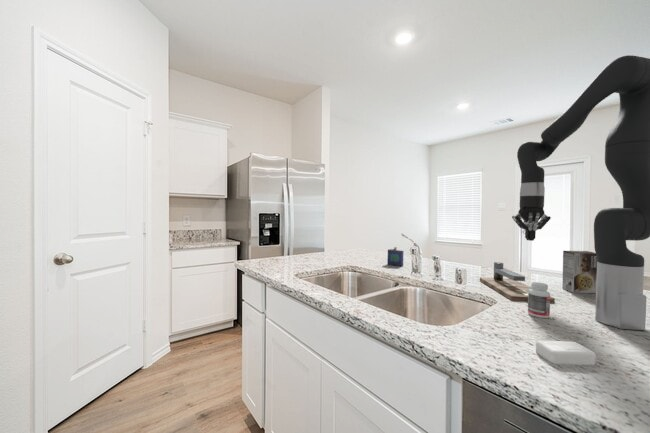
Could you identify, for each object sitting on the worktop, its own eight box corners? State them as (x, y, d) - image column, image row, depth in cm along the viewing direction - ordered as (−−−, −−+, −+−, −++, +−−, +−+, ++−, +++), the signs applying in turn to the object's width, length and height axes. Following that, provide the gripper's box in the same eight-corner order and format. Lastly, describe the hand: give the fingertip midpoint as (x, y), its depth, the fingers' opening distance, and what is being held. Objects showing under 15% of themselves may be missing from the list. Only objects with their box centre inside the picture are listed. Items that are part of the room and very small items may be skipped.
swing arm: (524, 289, 107) (525, 271, 107) (513, 289, 108) (513, 270, 107) (501, 278, 126) (501, 262, 125) (491, 277, 126) (492, 262, 126)
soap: (574, 353, 63) (574, 340, 63) (597, 367, 58) (597, 352, 57) (534, 352, 63) (534, 339, 63) (553, 365, 58) (553, 351, 58)
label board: (554, 302, 97) (554, 297, 97) (511, 300, 99) (511, 295, 99) (512, 282, 125) (512, 278, 125) (479, 280, 127) (479, 277, 127)
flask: (403, 265, 160) (404, 247, 160) (402, 266, 157) (402, 247, 157) (388, 264, 164) (388, 246, 164) (386, 265, 162) (386, 246, 162)
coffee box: (584, 289, 115) (586, 250, 115) (598, 294, 109) (600, 253, 108) (561, 288, 116) (562, 250, 115) (573, 293, 109) (574, 252, 109)
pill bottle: (551, 319, 82) (552, 287, 81) (529, 316, 84) (529, 284, 84) (547, 314, 86) (548, 283, 86) (526, 310, 89) (527, 280, 89)
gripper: (518, 194, 102) (516, 241, 103) (557, 194, 101) (555, 242, 101) (508, 195, 110) (506, 238, 110) (544, 195, 108) (542, 239, 109)
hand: (530, 240), depth 106 cm, fingers closed
